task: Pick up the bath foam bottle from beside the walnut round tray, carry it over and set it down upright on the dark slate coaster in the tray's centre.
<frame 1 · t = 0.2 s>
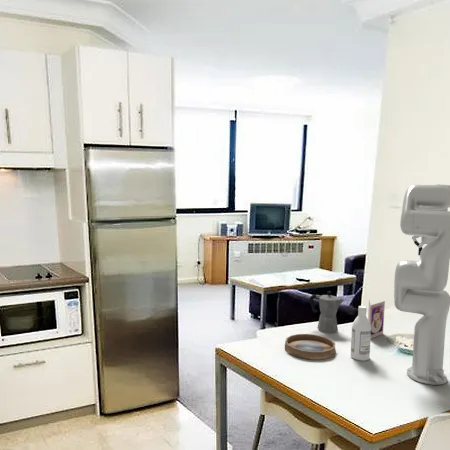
hand: (433, 258, 171), 37 cm above the table, tool pointing down, fingers open, 9 cm apart
greeting card: (370, 334, 188), on the table
coffeepot: (325, 329, 193), on the table
bath foam: (359, 358, 162), on the table
round tray: (309, 349, 169), on the table
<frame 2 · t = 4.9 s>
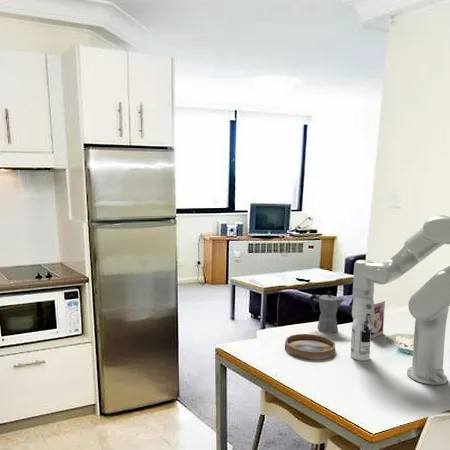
hand: (360, 337, 161), 8 cm above the table, tool pointing down, fingers closed on bath foam, 7 cm apart
bath foam: (359, 357, 162), on the table, touching gripper
everything else where it was.
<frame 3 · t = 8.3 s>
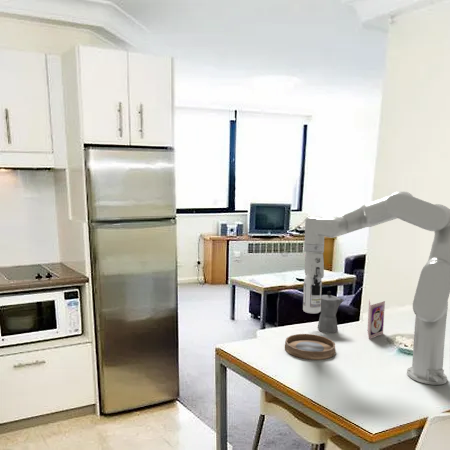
hand: (312, 292, 166), 24 cm above the table, tool pointing down, fingers closed on bath foam, 7 cm apart
bath foam: (311, 311, 167), point 16 cm above the table, touching gripper
everything else where it was.
when the fingers open (10 cm above the table, at t = 11.7 s): bath foam stays where it is, resting on round tray.
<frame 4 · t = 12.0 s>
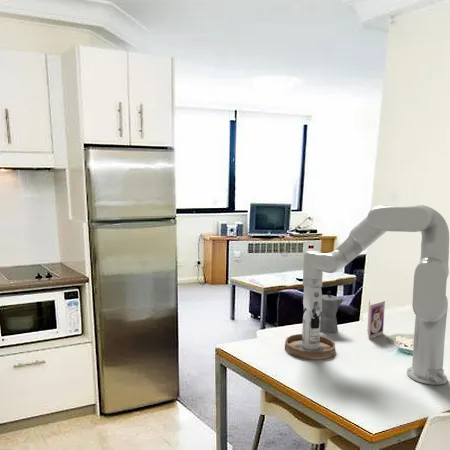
hand: (310, 324, 168), 11 cm above the table, tool pointing down, fingers open, 9 cm apart
bath foam: (310, 347, 168), point 1 cm above the table, touching round tray
everything else where it was.
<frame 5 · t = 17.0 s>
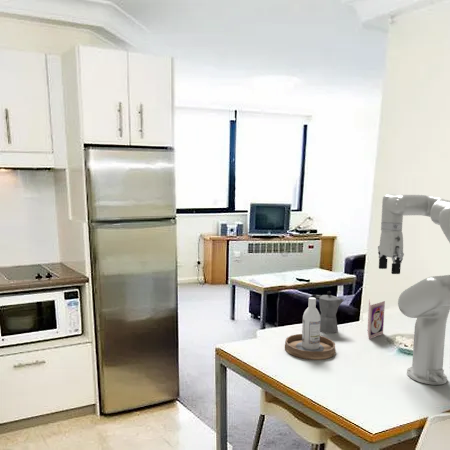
hand: (389, 271, 162), 33 cm above the table, tool pointing down, fingers open, 9 cm apart
nothing on the table moved.
at the end: bath foam inside the target area on the round tray (0.3 cm from its centre), point 1.0 cm above the round tray's base; bath foam tilted 0°; the gripper is holding nothing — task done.
